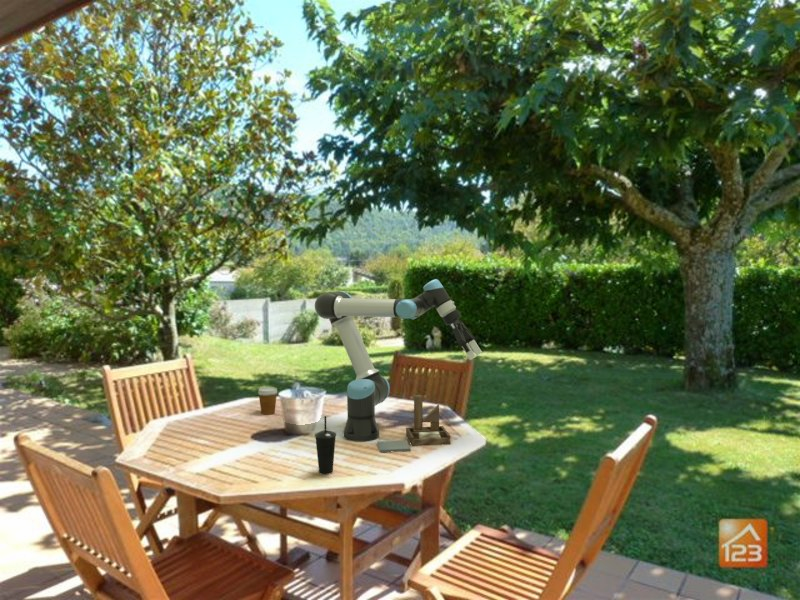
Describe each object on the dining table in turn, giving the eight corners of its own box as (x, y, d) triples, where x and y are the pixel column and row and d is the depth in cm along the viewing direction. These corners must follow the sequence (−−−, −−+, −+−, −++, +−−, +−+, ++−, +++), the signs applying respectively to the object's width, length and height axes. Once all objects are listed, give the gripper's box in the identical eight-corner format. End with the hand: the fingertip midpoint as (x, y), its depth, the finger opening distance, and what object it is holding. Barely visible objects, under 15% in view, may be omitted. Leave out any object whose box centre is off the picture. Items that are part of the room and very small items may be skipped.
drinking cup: (337, 467, 211) (337, 413, 210) (335, 475, 204) (335, 419, 202) (316, 468, 211) (315, 413, 210) (313, 475, 203) (313, 419, 202)
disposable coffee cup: (254, 413, 287) (254, 389, 286) (271, 409, 293) (271, 386, 292) (264, 417, 280) (263, 392, 279) (281, 413, 286) (281, 389, 285)
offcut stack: (419, 444, 238) (419, 434, 238) (417, 442, 241) (417, 432, 241) (440, 443, 239) (440, 433, 239) (439, 441, 243) (439, 431, 242)
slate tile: (380, 452, 228) (380, 450, 228) (377, 443, 239) (377, 441, 239) (410, 451, 230) (410, 448, 230) (406, 442, 240) (406, 440, 240)
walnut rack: (411, 446, 236) (411, 437, 235) (406, 435, 250) (406, 427, 249) (450, 444, 238) (450, 435, 238) (442, 434, 252) (442, 426, 252)
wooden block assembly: (439, 439, 245) (439, 396, 244) (413, 439, 245) (413, 396, 244) (438, 436, 248) (439, 394, 247) (413, 436, 249) (413, 394, 248)
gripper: (449, 310, 233) (478, 355, 230) (462, 306, 257) (488, 348, 254) (434, 319, 235) (462, 365, 232) (448, 315, 259) (474, 356, 256)
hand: (476, 356), depth 243 cm, fingers open, 13 cm apart
